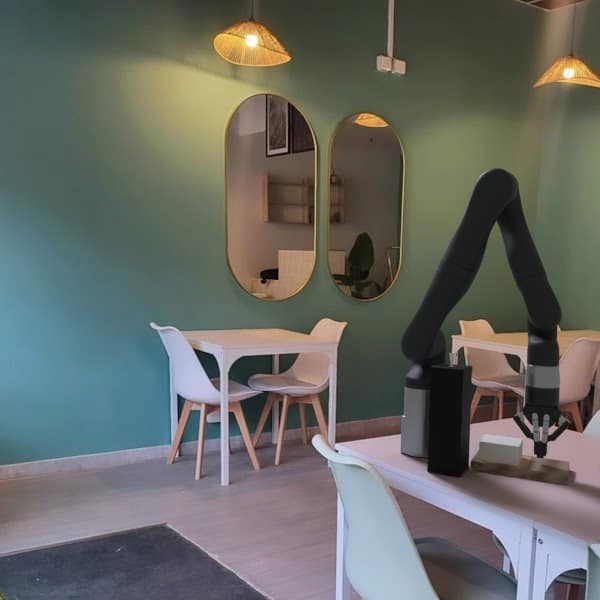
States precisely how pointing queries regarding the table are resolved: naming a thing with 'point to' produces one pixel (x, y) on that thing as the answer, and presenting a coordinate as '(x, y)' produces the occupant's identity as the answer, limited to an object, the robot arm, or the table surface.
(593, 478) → the table surface
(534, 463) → the podium
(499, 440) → the carton
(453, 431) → the black rectangular column
